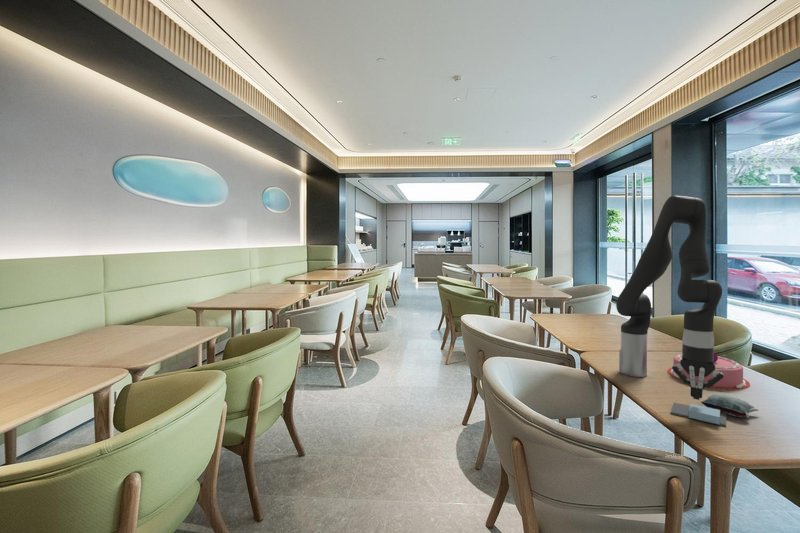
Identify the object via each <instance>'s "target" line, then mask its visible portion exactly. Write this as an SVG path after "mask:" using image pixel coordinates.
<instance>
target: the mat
mask: <svg viewBox="0 0 800 533" xmlns="http://www.w3.org/2000/svg"><path fill="white" fill-rule="evenodd" d="M689 408H690V405H687V404H683V403H677V402H673V404H672V407H671V410H670V414H671V415H675V416H680V417H682V418H687V419H692V420H695V421H700V422H705V423H709V424H713V425H718V426H722V427H727V414H725V413H722V412H720V425H719V424H715V423H711V422H707V421H702V420H698V419H694V418H690V417H689Z"/></svg>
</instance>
